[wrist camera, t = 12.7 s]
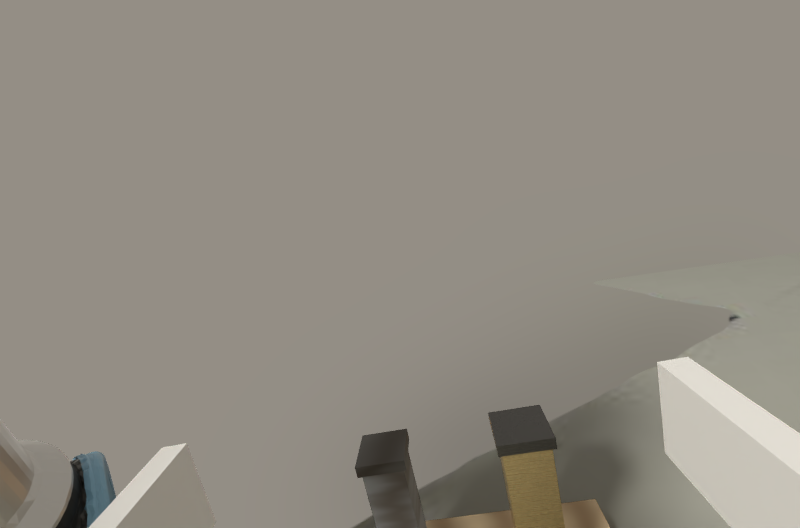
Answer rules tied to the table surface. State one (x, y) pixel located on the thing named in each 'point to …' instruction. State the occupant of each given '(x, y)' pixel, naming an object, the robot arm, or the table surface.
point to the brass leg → (528, 466)
